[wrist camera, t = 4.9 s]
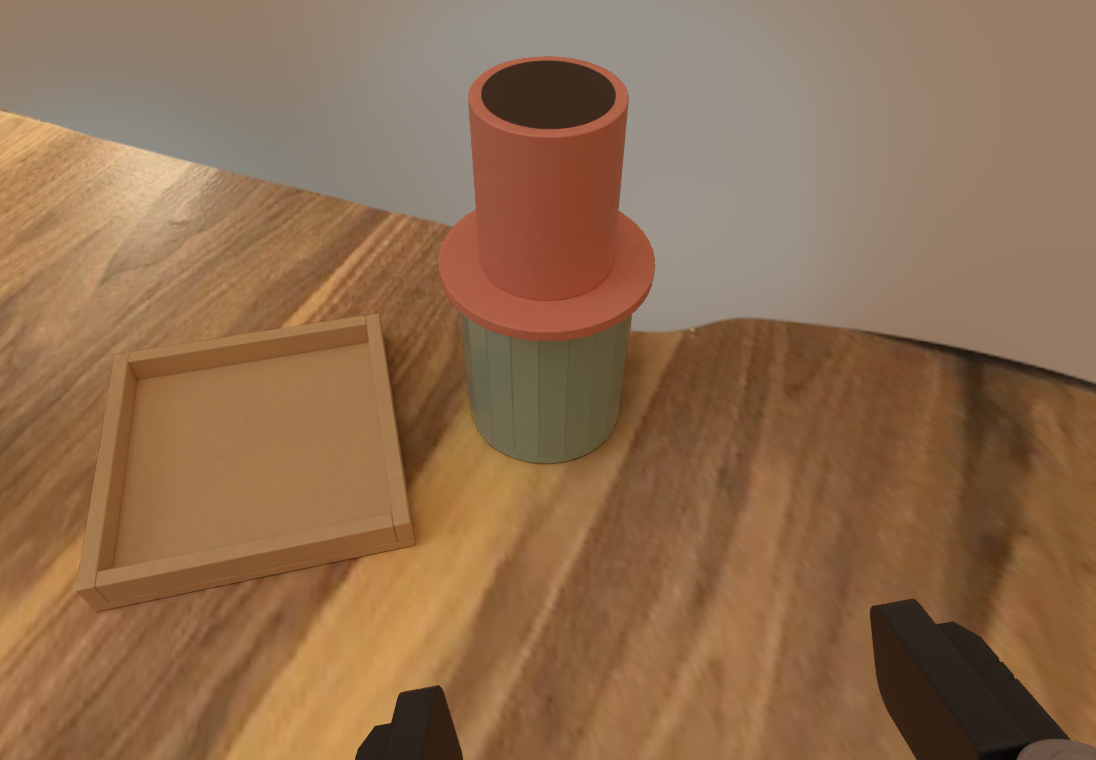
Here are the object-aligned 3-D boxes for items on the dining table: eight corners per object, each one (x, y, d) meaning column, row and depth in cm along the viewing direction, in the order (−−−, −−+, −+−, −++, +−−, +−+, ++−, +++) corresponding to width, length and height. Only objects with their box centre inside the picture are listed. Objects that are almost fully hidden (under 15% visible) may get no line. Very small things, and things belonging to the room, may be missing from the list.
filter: (399, 313, 37) (363, 113, 29) (515, 204, 42) (510, 14, 35) (586, 398, 33) (600, 197, 26) (684, 268, 39) (719, 72, 31)
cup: (440, 422, 43) (420, 285, 36) (521, 330, 48) (518, 193, 41) (572, 489, 40) (580, 355, 33) (645, 384, 45) (666, 247, 38)
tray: (95, 612, 36) (74, 591, 34) (128, 379, 45) (113, 354, 44) (416, 545, 38) (410, 522, 37) (384, 337, 48) (378, 312, 46)
